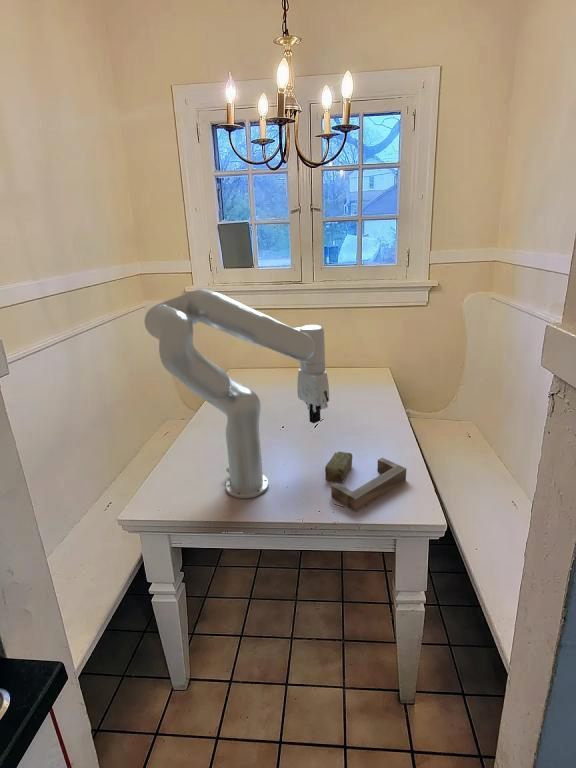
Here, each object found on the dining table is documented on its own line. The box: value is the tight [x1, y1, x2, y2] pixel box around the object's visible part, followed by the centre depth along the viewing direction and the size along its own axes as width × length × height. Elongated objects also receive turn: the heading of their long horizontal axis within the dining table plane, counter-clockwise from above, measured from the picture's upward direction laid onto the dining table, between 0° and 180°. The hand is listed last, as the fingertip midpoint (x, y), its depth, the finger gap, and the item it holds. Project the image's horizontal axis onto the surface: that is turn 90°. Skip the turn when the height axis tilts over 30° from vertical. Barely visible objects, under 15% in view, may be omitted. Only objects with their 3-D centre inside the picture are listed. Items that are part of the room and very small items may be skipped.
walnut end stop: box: [330, 457, 407, 513], centre depth 130 cm, size 9×22×4 cm, turn 130°
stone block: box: [324, 451, 353, 484], centre depth 138 cm, size 6×12×5 cm, turn 157°
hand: (315, 421), depth 143 cm, fingers closed
